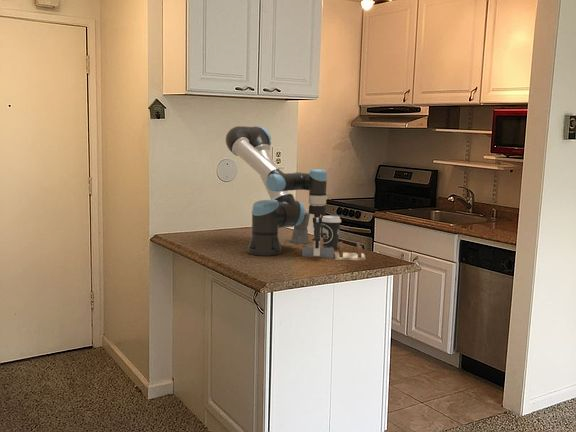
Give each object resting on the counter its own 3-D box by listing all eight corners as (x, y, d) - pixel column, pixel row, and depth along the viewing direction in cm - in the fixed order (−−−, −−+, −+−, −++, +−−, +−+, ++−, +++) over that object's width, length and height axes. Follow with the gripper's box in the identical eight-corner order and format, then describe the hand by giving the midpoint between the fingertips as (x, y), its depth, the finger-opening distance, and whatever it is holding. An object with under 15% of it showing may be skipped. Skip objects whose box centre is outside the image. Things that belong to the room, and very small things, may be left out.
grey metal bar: (302, 257, 272) (302, 247, 271) (302, 254, 276) (302, 245, 276) (333, 258, 271) (333, 248, 271) (333, 255, 276) (333, 246, 275)
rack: (335, 259, 268) (335, 245, 267) (334, 254, 279) (334, 241, 278) (365, 260, 268) (366, 246, 267) (363, 255, 279) (364, 242, 278)
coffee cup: (339, 250, 288) (340, 218, 286) (318, 249, 290) (319, 217, 288) (341, 246, 297) (342, 216, 295) (321, 245, 299) (322, 214, 297)
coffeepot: (314, 244, 303) (315, 207, 300) (297, 245, 299) (298, 208, 296) (300, 238, 317) (301, 203, 314) (284, 239, 313) (285, 204, 310)
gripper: (326, 208, 258) (325, 258, 261) (325, 202, 283) (324, 247, 286) (308, 207, 258) (307, 257, 261) (309, 201, 283) (308, 247, 286)
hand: (316, 252), depth 273 cm, fingers open, 13 cm apart
